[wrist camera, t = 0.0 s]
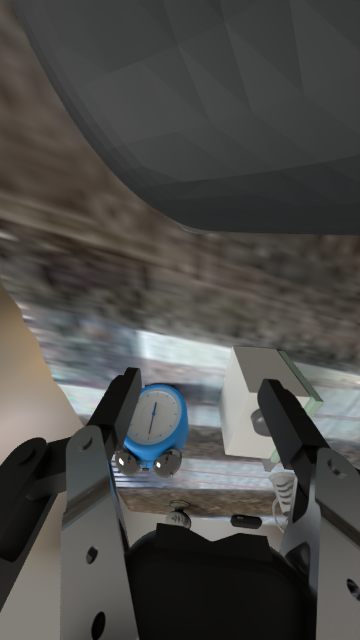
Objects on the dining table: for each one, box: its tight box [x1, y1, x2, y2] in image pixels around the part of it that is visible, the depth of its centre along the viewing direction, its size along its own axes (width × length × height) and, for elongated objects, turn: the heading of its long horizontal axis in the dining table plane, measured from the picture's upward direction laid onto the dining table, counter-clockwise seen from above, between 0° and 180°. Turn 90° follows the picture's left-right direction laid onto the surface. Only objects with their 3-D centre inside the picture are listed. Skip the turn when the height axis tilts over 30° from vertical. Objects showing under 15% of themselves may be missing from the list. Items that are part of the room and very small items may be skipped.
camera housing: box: [218, 346, 311, 459], centre depth 29 cm, size 18×8×12 cm, turn 178°
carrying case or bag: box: [230, 515, 262, 529], centre depth 80 cm, size 11×3×15 cm
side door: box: [261, 351, 324, 472], centre depth 30 cm, size 22×1×10 cm, turn 178°
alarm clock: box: [115, 384, 188, 478], centre depth 31 cm, size 13×6×15 cm, turn 95°
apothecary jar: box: [165, 500, 191, 529], centre depth 70 cm, size 12×12×18 cm
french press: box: [269, 472, 296, 533], centre depth 45 cm, size 10×12×25 cm
